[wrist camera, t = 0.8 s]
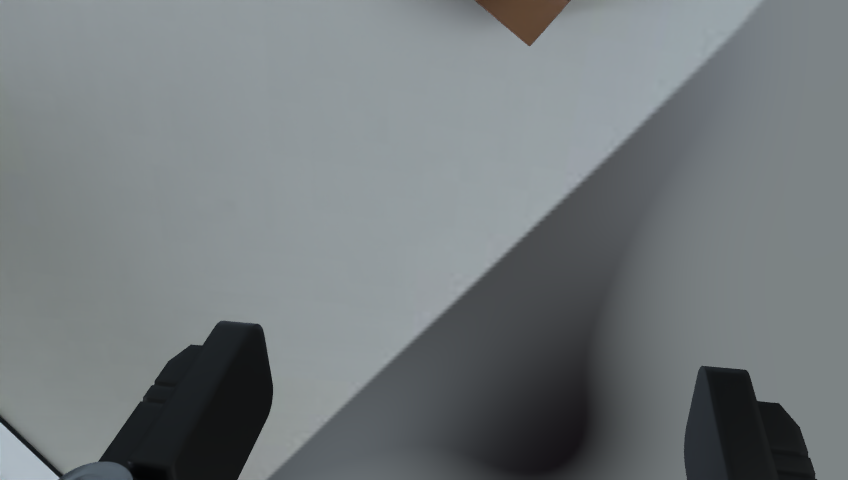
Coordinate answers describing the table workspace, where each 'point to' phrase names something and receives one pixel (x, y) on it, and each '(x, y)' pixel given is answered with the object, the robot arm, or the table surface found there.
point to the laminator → (21, 458)
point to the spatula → (524, 15)
